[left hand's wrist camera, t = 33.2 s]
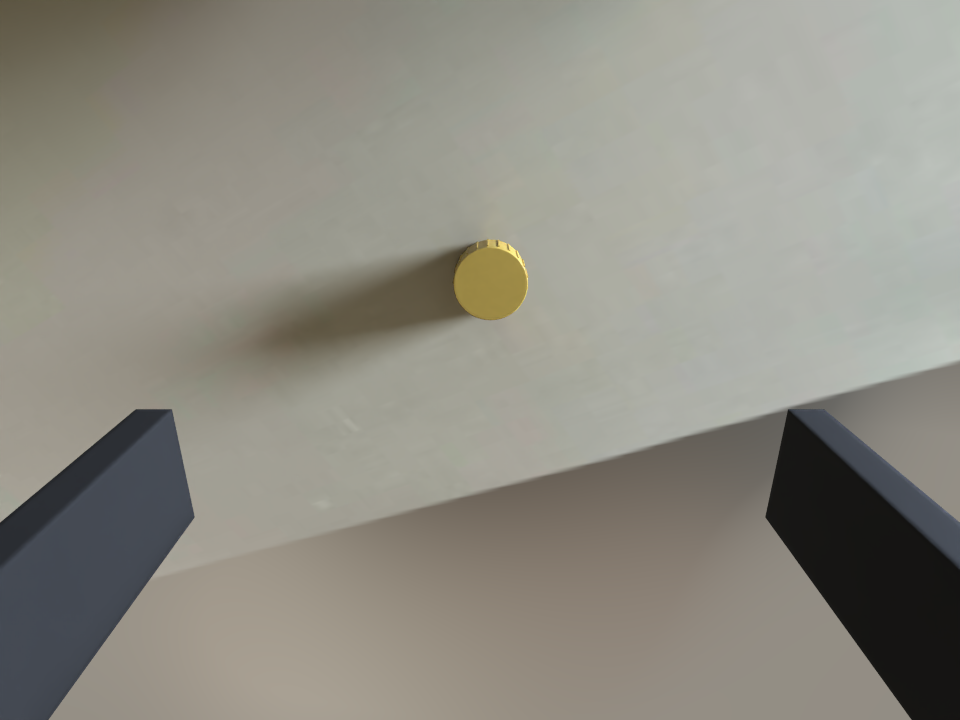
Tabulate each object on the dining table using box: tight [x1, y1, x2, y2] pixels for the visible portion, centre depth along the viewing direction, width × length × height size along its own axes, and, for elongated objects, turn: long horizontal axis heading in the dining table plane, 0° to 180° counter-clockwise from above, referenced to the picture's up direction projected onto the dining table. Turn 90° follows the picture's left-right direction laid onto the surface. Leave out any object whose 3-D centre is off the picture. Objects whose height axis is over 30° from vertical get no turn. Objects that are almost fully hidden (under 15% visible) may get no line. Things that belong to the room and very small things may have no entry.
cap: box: [453, 239, 528, 320], centre depth 31 cm, size 4×4×2 cm
